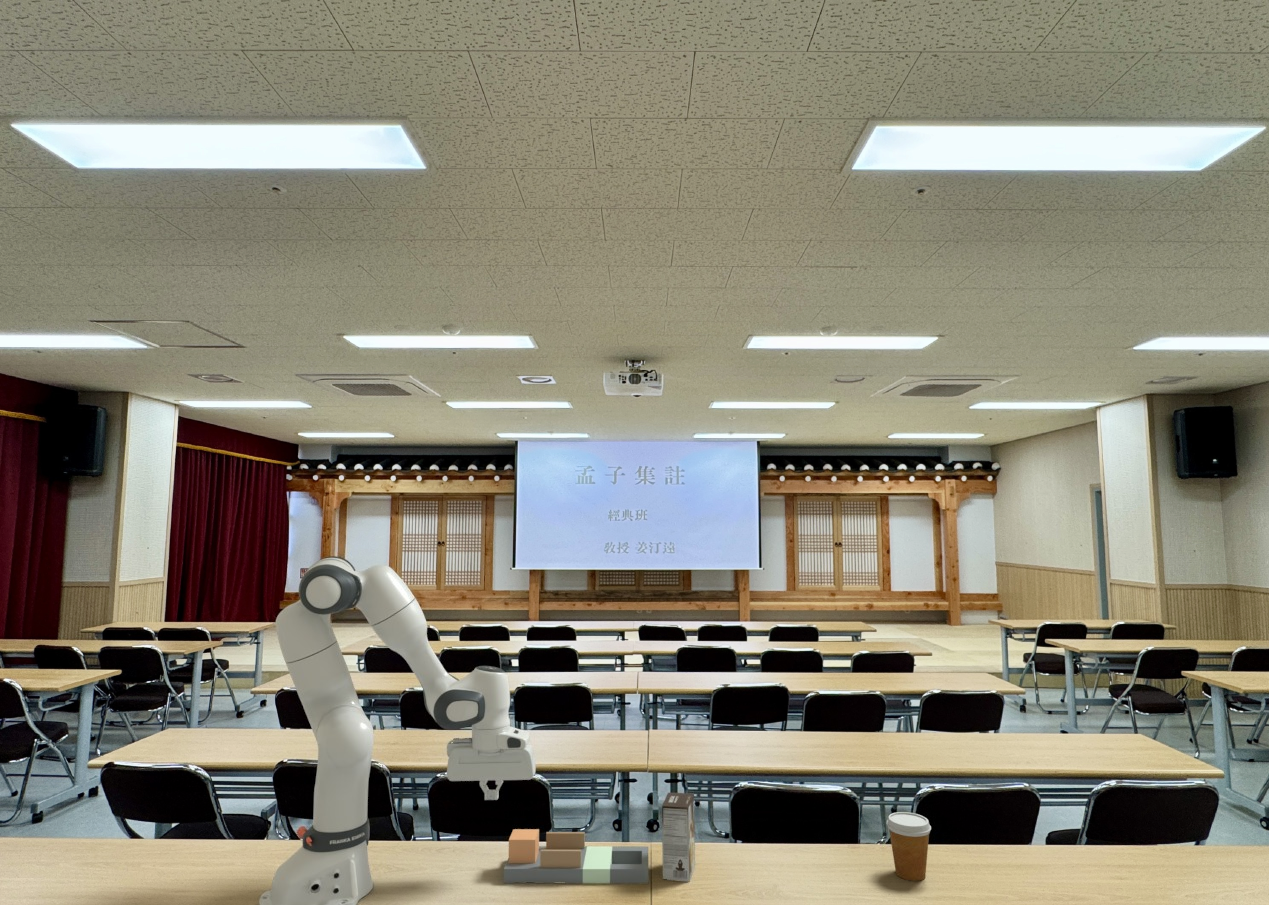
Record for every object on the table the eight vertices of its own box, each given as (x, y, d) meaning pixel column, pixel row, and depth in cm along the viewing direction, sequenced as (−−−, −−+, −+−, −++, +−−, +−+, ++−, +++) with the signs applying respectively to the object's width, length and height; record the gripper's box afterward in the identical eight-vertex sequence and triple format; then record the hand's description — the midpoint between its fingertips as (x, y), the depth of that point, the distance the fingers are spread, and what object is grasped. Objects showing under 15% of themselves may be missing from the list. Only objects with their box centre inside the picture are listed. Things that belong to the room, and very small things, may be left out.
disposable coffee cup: (882, 865, 176) (880, 811, 177) (923, 865, 176) (921, 811, 177) (896, 884, 166) (894, 827, 167) (940, 884, 166) (937, 827, 167)
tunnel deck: (503, 883, 168) (504, 852, 168) (513, 859, 180) (513, 830, 180) (648, 883, 167) (648, 852, 168) (648, 859, 179) (648, 830, 180)
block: (508, 862, 171) (508, 839, 171) (513, 851, 177) (513, 829, 177) (535, 862, 171) (535, 839, 171) (538, 851, 177) (539, 829, 177)
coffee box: (668, 862, 178) (667, 791, 179) (695, 864, 176) (694, 792, 178) (662, 880, 169) (661, 805, 170) (690, 882, 168) (689, 807, 169)
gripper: (443, 742, 174) (443, 804, 172) (532, 740, 173) (533, 803, 172) (450, 734, 180) (450, 794, 179) (536, 732, 180) (537, 793, 178)
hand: (491, 799), depth 175 cm, fingers closed
